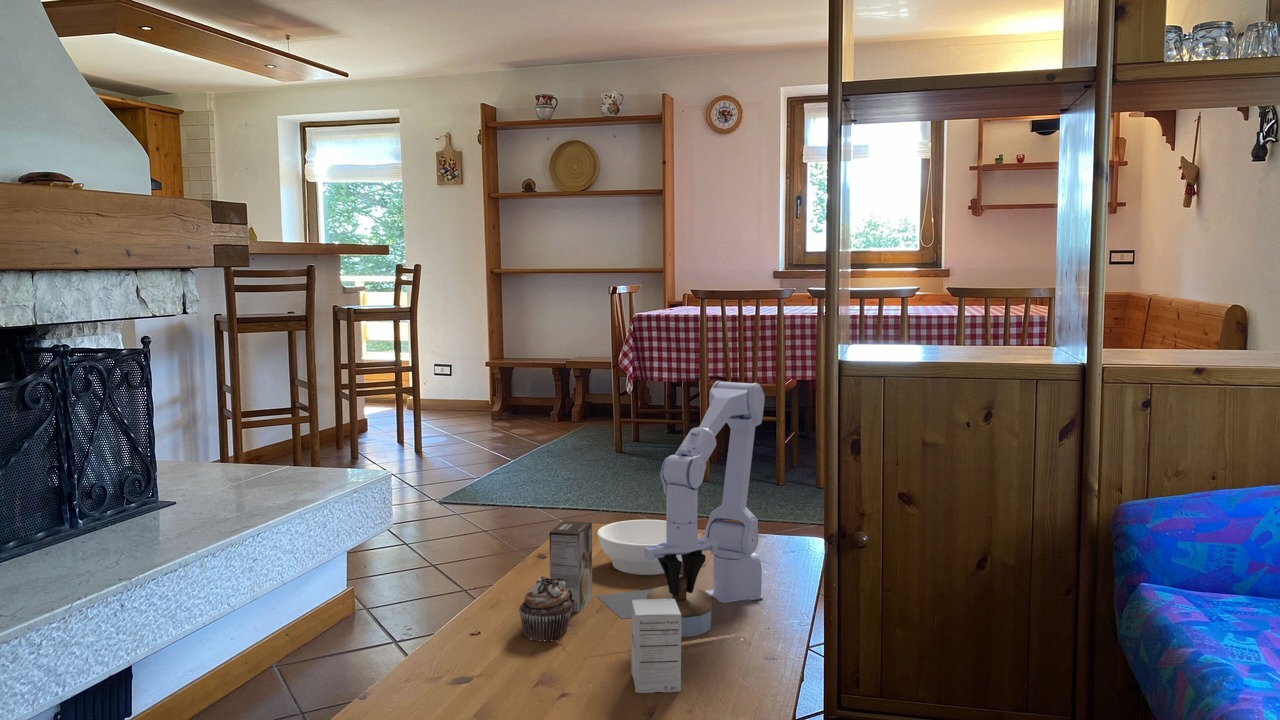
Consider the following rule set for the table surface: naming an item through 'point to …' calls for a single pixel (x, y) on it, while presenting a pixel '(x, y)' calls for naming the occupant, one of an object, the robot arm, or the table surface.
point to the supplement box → (656, 645)
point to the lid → (685, 598)
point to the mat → (623, 602)
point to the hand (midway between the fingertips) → (681, 592)
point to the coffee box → (573, 560)
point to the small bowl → (695, 624)
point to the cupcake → (546, 610)
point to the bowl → (633, 545)
